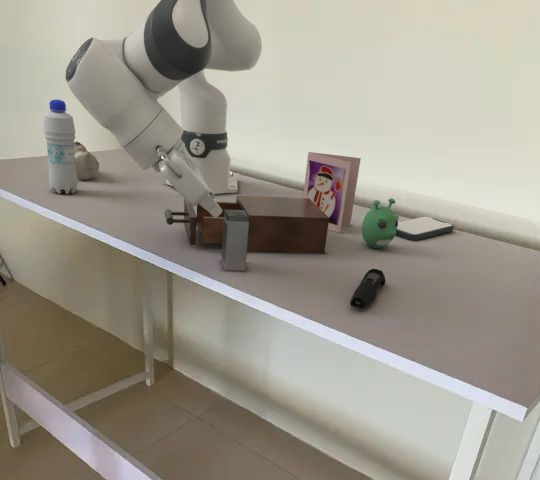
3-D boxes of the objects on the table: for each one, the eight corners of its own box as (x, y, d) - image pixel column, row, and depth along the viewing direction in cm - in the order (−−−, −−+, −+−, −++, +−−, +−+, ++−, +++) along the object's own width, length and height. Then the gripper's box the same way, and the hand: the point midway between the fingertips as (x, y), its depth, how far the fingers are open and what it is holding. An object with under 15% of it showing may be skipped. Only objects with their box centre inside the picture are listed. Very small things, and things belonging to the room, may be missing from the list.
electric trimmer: (342, 312, 94) (345, 293, 92) (365, 280, 107) (368, 263, 105) (366, 317, 93) (369, 298, 91) (385, 284, 106) (389, 267, 104)
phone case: (413, 242, 131) (455, 232, 140) (414, 235, 130) (456, 225, 140) (381, 231, 136) (424, 222, 146) (383, 224, 136) (425, 215, 145)
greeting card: (297, 220, 137) (305, 152, 130) (318, 216, 142) (326, 150, 135) (337, 233, 131) (348, 162, 124) (357, 228, 136) (368, 160, 129)
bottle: (70, 196, 137) (64, 102, 128) (43, 192, 138) (34, 98, 129) (84, 190, 143) (79, 100, 134) (58, 187, 144) (51, 96, 135)
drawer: (167, 244, 111) (167, 216, 109) (163, 223, 123) (163, 197, 120) (265, 247, 115) (268, 219, 113) (252, 226, 127) (254, 201, 124)
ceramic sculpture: (66, 145, 144) (44, 138, 154) (69, 182, 148) (47, 173, 158) (108, 144, 150) (84, 137, 160) (110, 180, 154) (86, 171, 164)
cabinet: (246, 252, 114) (248, 215, 111) (234, 229, 127) (236, 195, 123) (324, 253, 118) (329, 217, 114) (305, 231, 130) (309, 198, 127)
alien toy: (376, 255, 120) (385, 205, 115) (351, 243, 125) (359, 195, 120) (402, 252, 123) (411, 203, 118) (377, 240, 129) (385, 193, 124)
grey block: (224, 270, 105) (227, 216, 100) (221, 261, 108) (223, 209, 104) (245, 270, 105) (249, 217, 101) (241, 262, 109) (245, 210, 105)
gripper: (175, 139, 85) (239, 210, 92) (166, 118, 102) (220, 179, 109) (143, 170, 86) (208, 237, 93) (140, 144, 103) (195, 203, 110)
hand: (215, 206), depth 101 cm, fingers open, 8 cm apart
